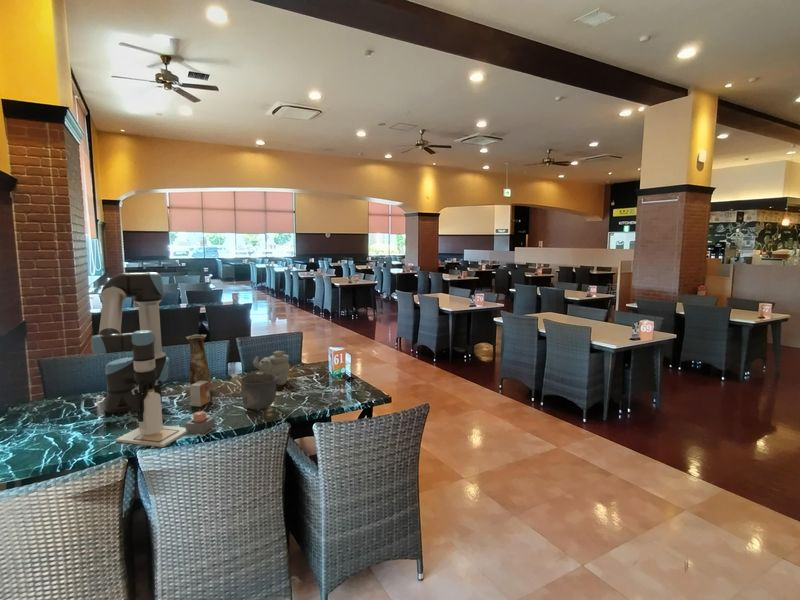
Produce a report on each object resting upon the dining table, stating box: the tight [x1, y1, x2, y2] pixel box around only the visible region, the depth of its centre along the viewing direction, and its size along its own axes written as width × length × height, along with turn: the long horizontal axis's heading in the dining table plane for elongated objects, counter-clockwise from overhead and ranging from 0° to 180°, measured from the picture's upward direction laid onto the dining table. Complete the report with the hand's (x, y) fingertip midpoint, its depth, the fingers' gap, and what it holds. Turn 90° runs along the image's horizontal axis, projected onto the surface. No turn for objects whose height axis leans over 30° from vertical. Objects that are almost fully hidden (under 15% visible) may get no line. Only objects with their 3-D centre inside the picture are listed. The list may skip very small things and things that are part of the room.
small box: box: [189, 381, 211, 407], centre depth 221 cm, size 8×6×10 cm
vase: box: [185, 333, 211, 386], centre depth 239 cm, size 10×11×30 cm
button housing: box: [184, 416, 215, 435], centre depth 191 cm, size 8×8×4 cm
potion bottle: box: [140, 388, 164, 435], centre depth 182 cm, size 8×8×18 cm
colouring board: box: [115, 425, 188, 448], centre depth 184 cm, size 22×16×1 cm
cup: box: [239, 372, 278, 410], centre depth 214 cm, size 18×18×15 cm
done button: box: [192, 410, 207, 423], centre depth 190 cm, size 5×5×4 cm
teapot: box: [252, 350, 291, 386], centre depth 253 cm, size 16×15×19 cm
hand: (149, 425), depth 181 cm, fingers open, 5 cm apart
